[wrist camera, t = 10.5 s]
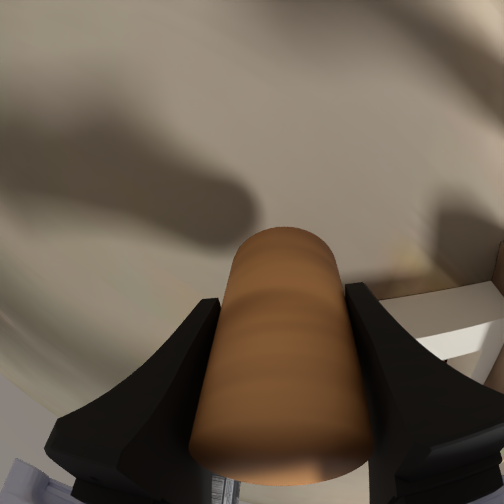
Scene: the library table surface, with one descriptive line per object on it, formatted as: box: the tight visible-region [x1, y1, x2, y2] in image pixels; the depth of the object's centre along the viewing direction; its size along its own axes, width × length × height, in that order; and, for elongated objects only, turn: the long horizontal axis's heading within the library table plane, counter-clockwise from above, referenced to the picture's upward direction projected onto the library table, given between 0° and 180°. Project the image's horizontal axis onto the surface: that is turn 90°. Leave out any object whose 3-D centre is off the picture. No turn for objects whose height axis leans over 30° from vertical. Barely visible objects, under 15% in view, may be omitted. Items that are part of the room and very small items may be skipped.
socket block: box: [379, 281, 504, 385], centre depth 19 cm, size 13×11×4 cm
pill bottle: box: [212, 472, 241, 504], centre depth 24 cm, size 6×6×11 cm
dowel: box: [189, 227, 374, 486], centre depth 10 cm, size 4×4×8 cm
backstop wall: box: [483, 242, 504, 394], centre depth 17 cm, size 19×2×6 cm, turn 10°
